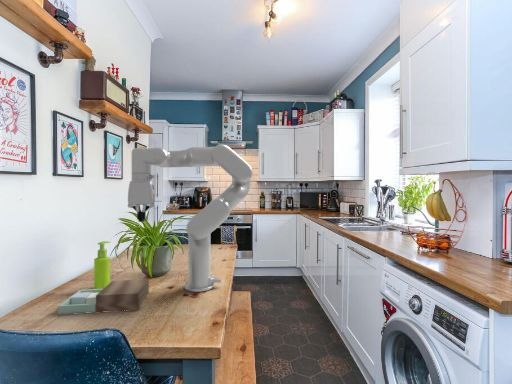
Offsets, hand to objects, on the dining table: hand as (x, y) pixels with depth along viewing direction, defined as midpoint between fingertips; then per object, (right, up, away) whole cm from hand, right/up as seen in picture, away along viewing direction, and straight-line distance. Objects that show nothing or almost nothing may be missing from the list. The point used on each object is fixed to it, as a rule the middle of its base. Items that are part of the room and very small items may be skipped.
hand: (141, 221), depth 120 cm
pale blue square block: (-16, -26, -14) cm, 34 cm away
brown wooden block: (-1, -29, -13) cm, 32 cm away
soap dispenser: (-18, -29, +3) cm, 34 cm away
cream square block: (-11, -29, -15) cm, 34 cm away
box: (-14, -29, -15) cm, 36 cm away
